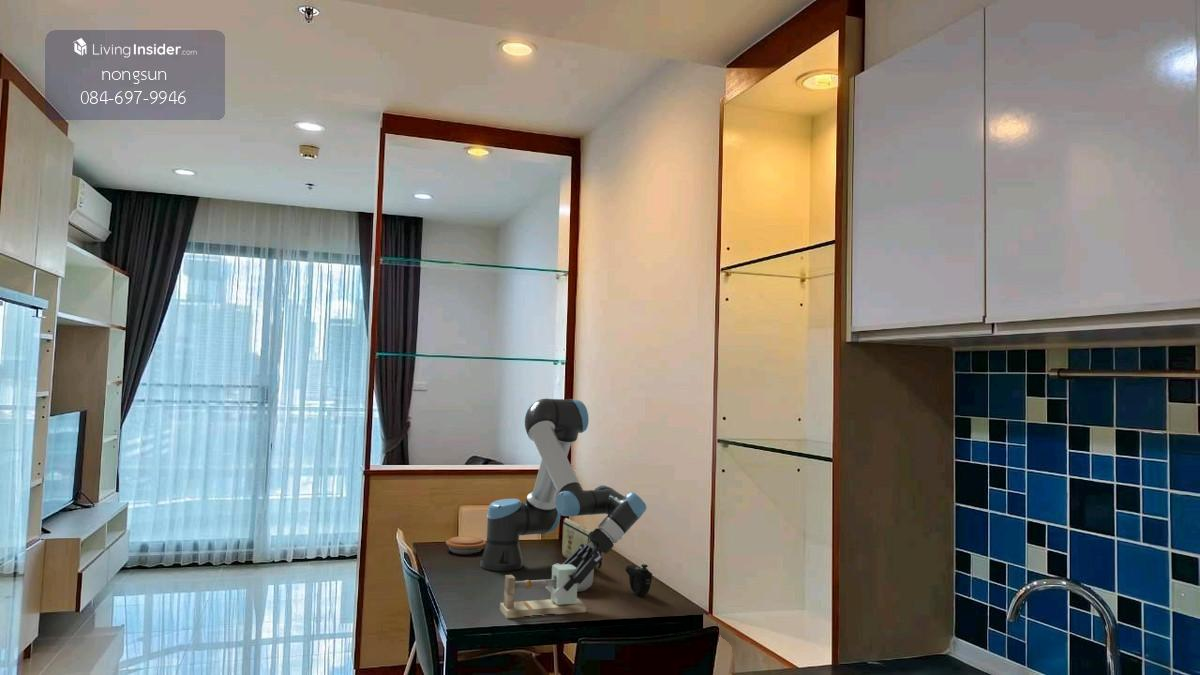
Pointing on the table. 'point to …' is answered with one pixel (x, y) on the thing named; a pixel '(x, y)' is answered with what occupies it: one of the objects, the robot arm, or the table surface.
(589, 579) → the teacup
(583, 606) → the lead screw slider
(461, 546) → the pie
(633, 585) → the controller
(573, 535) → the clutch purse
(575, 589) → the sleeve
